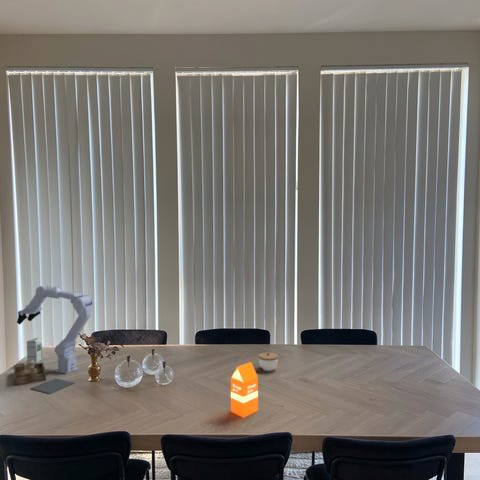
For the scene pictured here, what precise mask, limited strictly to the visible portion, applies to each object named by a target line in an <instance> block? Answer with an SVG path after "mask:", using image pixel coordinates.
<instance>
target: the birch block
mask: <svg viewBox="0 0 480 480" xmlns="http://www.w3.org/2000/svg"><path fill="white" fill-rule="evenodd" d="M24 365H25V374H26V373H31V372H34V360H32V361H27V360H26V361H24ZM24 365H23V366H24Z"/></svg>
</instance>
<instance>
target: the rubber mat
mask: <svg viewBox="0 0 480 480" xmlns="http://www.w3.org/2000/svg"><path fill="white" fill-rule="evenodd" d="M74 384H75V382H72V381H69V380H64V379H61V378H56V377H55V378H53V379H49V380H47V381H45V382H43V383H41V384H37V385H35V386H33V387H30V390H33V391H36V392H40V393H42V394H43V393H44V394H48V395H51V394H54V393H56V392H59V391H60V390H62V389H65V388H67V387H70V386H72V385H74Z"/></svg>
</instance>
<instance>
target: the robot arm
mask: <svg viewBox="0 0 480 480" xmlns="http://www.w3.org/2000/svg"><path fill="white" fill-rule="evenodd" d="M47 298H51V299H60V298H63V299H67V300H69V301H70V304H72V307H73V308H74V311H75V312H76V313H77V315H78V316H77V318H76V319H75V321H74V323H73V324H72V326H71V327H70V329H69V331H68V333H67V334H66V336H65V338H64V339H62V340H61V341H60V342H59V344H57V345H56V346H55V348H54V353H55V354H56V356H57V358H58V359H57V365H58V366H57V369H55V370H54V372H56V373H59V374H60V373H61V374H67V375H68V374H69V373H72V372H74V371H77V370H79V368H78V367H77V365H78V363H77V357H76V356H75V355H74V354H73V352H74V350H75V348H76V345H77V341H76V340H77V338H78V337H79V335H80V333H81V332H82V330H83V329H84V327H85V325H86V324H87V322H88V321H89V319H90V318H91V314H92V308H93V305H94V301H93V298H92V296H90V295H89V294H84V293H78V292H70V291H64V290H63V291H62V289H61V288H58V286H54V287H53V286H51V285H46V284H45V285H41V286H38V287H37V288H36V289H35V294H34V296H32V299H31V300H30V302H28V304H26V305H25V308H23V309H21V310H18V313H17V315H18V317H17V320H16V323H17V324H18V325H21V324H22V323H23V322H24V321H25V320H26V319H27V321H29V322H31V321H33V320H34V319H35V318H36V317H37V316H39V315H41V311H42V310H43V307H42V304H43V302H45V300H46V299H47ZM27 315H28V316H27Z"/></svg>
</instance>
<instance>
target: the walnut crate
mask: <svg viewBox="0 0 480 480" xmlns="http://www.w3.org/2000/svg"><path fill="white" fill-rule="evenodd" d="M46 375H47V373H46V370H45V365H44V362H43V361H42V362H41V363H36V364H34V372H31V373H26V374H25V365H18V366H13V381H14V383H13V386H14V387H15V386H21V385H28V384H32V383H33V384H34V383H37V382H43V381H46Z"/></svg>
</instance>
